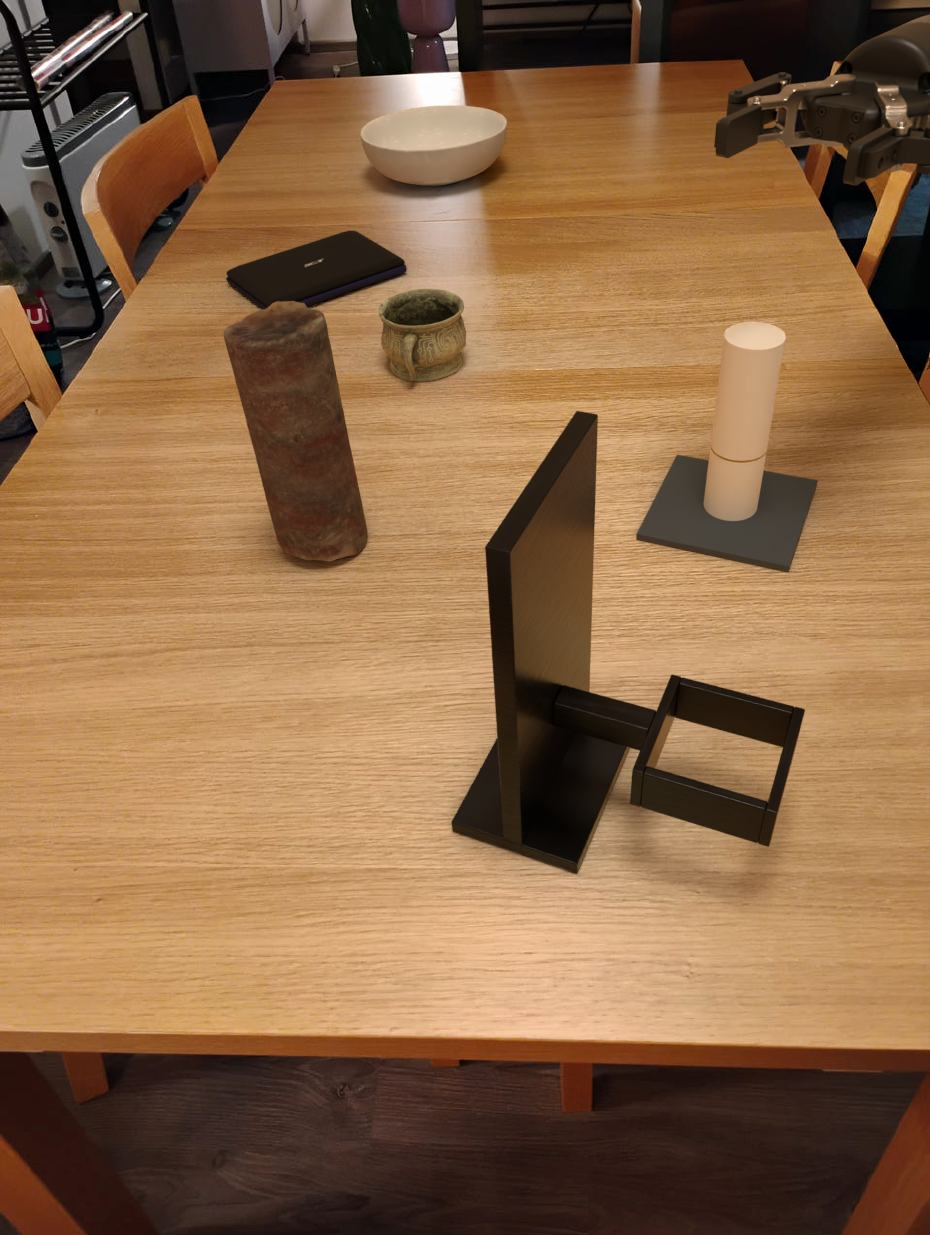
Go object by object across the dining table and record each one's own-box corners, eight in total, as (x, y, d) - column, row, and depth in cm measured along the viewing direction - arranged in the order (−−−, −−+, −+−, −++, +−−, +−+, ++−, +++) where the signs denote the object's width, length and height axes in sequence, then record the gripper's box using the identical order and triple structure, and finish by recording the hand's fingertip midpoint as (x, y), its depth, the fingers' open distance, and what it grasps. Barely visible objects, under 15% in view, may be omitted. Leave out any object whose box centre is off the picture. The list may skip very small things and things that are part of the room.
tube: (753, 524, 79) (781, 352, 69) (699, 516, 81) (719, 346, 70) (760, 494, 82) (789, 325, 72) (708, 486, 83) (729, 319, 73)
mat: (816, 485, 84) (817, 479, 83) (788, 572, 76) (789, 566, 75) (676, 460, 88) (677, 454, 87) (636, 539, 80) (636, 533, 79)
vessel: (454, 395, 98) (449, 336, 94) (369, 390, 100) (360, 332, 96) (479, 338, 107) (476, 282, 103) (401, 334, 109) (394, 279, 104)
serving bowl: (538, 166, 145) (537, 115, 140) (441, 213, 134) (437, 160, 129) (433, 143, 156) (429, 95, 151) (336, 184, 145) (328, 134, 140)
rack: (790, 770, 62) (868, 460, 46) (747, 932, 54) (823, 624, 39) (525, 695, 68) (515, 399, 53) (452, 831, 60) (415, 530, 45)
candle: (292, 582, 79) (236, 351, 65) (265, 533, 84) (208, 308, 70) (381, 552, 81) (345, 322, 67) (350, 505, 86) (311, 282, 72)
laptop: (419, 281, 118) (417, 265, 117) (258, 325, 113) (254, 308, 111) (369, 238, 129) (367, 222, 128) (220, 275, 123) (216, 260, 122)
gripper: (826, 10, 68) (687, 66, 60) (1042, 33, 60) (916, 101, 52) (807, 128, 73) (677, 194, 65) (1004, 163, 65) (884, 244, 57)
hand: (783, 152), depth 58 cm, fingers open, 8 cm apart
